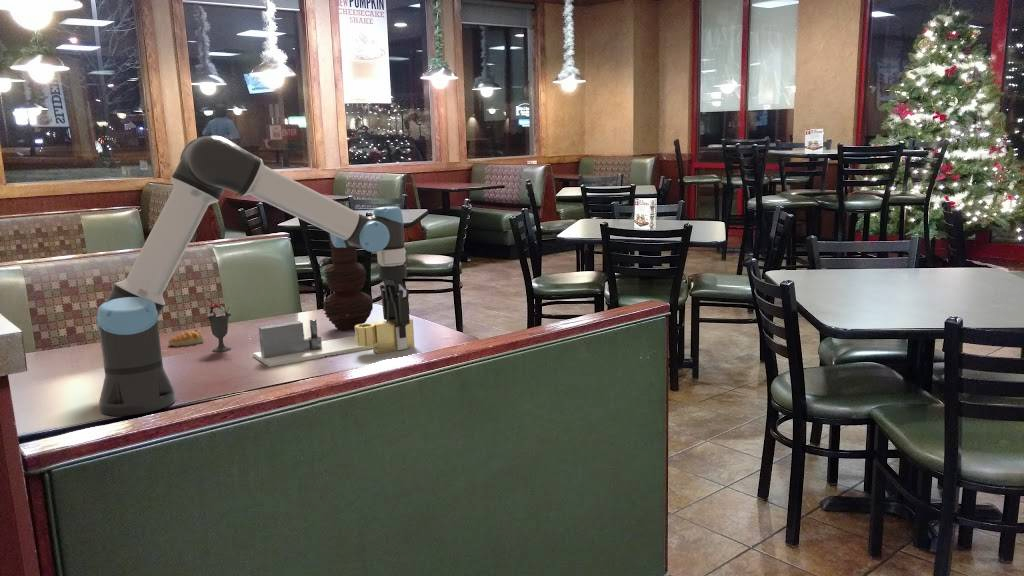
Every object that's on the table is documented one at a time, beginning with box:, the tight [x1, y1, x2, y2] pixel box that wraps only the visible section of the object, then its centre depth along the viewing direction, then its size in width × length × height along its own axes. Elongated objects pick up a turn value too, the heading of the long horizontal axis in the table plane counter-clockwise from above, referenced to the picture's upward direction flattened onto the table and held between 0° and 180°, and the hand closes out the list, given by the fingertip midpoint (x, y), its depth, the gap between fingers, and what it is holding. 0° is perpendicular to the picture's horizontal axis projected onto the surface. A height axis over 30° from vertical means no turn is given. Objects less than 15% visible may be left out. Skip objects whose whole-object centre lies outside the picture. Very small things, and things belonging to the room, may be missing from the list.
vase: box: [322, 232, 374, 332], centre depth 244 cm, size 15×15×30 cm
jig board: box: [252, 335, 373, 368], centre depth 218 cm, size 30×14×1 cm, turn 124°
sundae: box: [205, 298, 232, 353], centre depth 223 cm, size 7×7×15 cm
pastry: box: [168, 329, 205, 347], centre depth 234 cm, size 9×7×4 cm
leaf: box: [354, 317, 415, 355], centre depth 216 cm, size 16×5×8 cm, turn 124°
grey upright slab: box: [258, 318, 322, 358], centre depth 214 cm, size 16×4×8 cm, turn 124°
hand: (398, 347), depth 219 cm, fingers open, 4 cm apart
